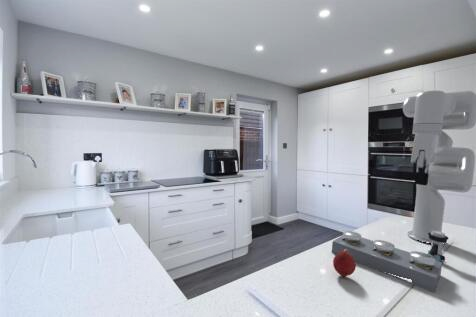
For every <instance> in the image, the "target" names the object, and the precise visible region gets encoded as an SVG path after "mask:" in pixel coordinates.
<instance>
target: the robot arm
mask: <svg viewBox="0 0 476 317" xmlns="http://www.w3.org/2000/svg"><path fill="white" fill-rule="evenodd" d="M402 112H403V114H404V116H405V117H407V118H413V121H412V122H413V124H412V135H414V139H413V145H412V150H411V152H412V153H411V158H410V162H411V164H416V172H415V175H414V176H415V179H414V184H415V186H416V187H415V188H416V191H415V192H416V195H415V201H414V202H415V205H414V213H413V222H412V230H410V231H407V236H408V237H409V238H410V239H412V238H413V239H412V240H414V239H415V241H417V240H419V241H418V242H420V241H423V242H429V243H432V240H431V239H429V235H428V233H429V232H432V231H439V232H443V231H442V229H443V221H444V213H445V204H446V201H445V198H444V196H443V195H442V194H441V193H440V192H439V191H447V192H453V193H467V192H469V191H470V190H471V189H472V186H473V183H474V182H473V181H474V175H475V172H474V171H475V164H476V155H475V151H474V150H472V149H471V148H468V147H458V146H453V143H454V142H453V141H454V140H453V139H452V137H451V136H449V134H448V133H447V132H445V131H444V130H448V131H449V130H461V131H462V130H471V129H472V128H474V127H475V126H476V93H475V92H474V91H470V90H467V91H465V90H464V91H455V92H454V91H452V92H444V91H442V90H425V91H421V92H420V93H417V95H416V96H414V95H413V96H409V97H407V98H406V99H405V100H404V102H403V104H402ZM423 242H422V243H423Z"/></svg>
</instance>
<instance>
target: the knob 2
mask: <svg viewBox="0 0 476 317" xmlns="http://www.w3.org/2000/svg"><path fill="white" fill-rule="evenodd" d="M410 261H412V264H414V265H417V266H420V267H423V268H426V269H429V270H431V268H433V267H435V258H434V257H432V256H431V255H428V253H425V252H422V251H416V250H413V251H410Z"/></svg>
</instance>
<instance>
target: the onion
mask: <svg viewBox="0 0 476 317" xmlns="http://www.w3.org/2000/svg"><path fill="white" fill-rule="evenodd" d="M332 264H333V268H334V270H335V271H336V272H337V274H339V275H340V276H341V277H343V278H345V277H348V276H351V275H352V274H353V273H354V272H355V270H356V262H355V261H354V259H353V258H352V256H351V255H350V254H348V250H347V249H345V250H343V251H342V252H340V253H338V254H336V255H334V257H333V261H332Z"/></svg>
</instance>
